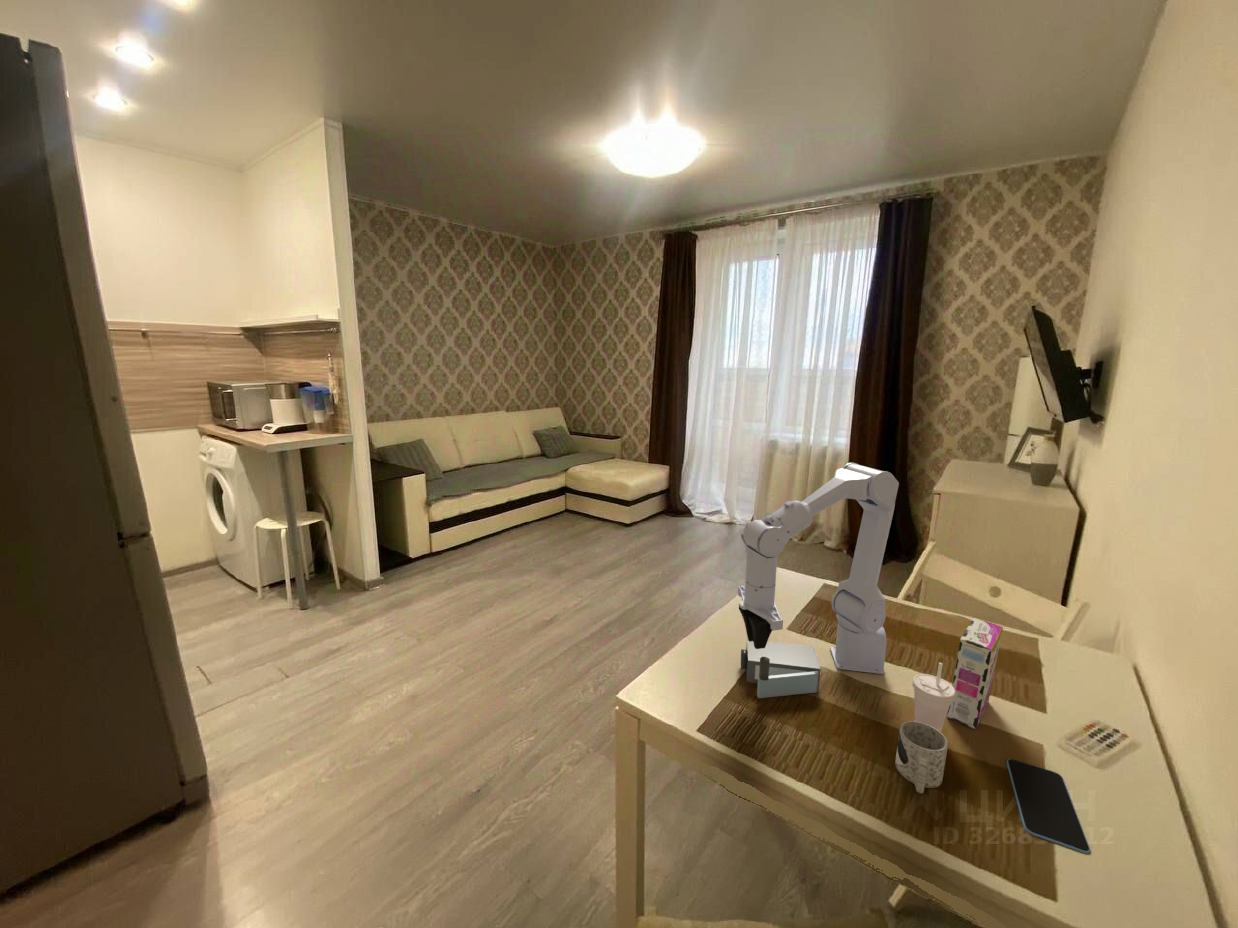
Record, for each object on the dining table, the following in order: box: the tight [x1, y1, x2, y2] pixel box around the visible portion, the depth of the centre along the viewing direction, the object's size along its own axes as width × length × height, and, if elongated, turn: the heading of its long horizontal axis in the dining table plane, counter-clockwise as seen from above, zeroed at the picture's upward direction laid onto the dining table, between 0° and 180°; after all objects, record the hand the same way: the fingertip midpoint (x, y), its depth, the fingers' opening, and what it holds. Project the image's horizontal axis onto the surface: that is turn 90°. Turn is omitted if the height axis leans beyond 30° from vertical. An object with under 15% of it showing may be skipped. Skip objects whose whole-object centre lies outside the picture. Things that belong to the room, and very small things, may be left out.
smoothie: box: [911, 662, 955, 733], centre depth 88 cm, size 6×6×14 cm
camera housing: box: [740, 638, 821, 692], centre depth 105 cm, size 15×8×5 cm, turn 78°
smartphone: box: [1006, 758, 1091, 854], centre depth 75 cm, size 7×1×15 cm
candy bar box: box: [946, 617, 1004, 730], centre depth 93 cm, size 11×5×16 cm, turn 135°
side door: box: [756, 657, 818, 699], centre depth 98 cm, size 12×2×8 cm, turn 98°
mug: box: [895, 720, 949, 794], centre depth 79 cm, size 10×7×7 cm
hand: (756, 643), depth 100 cm, fingers open, 2 cm apart
